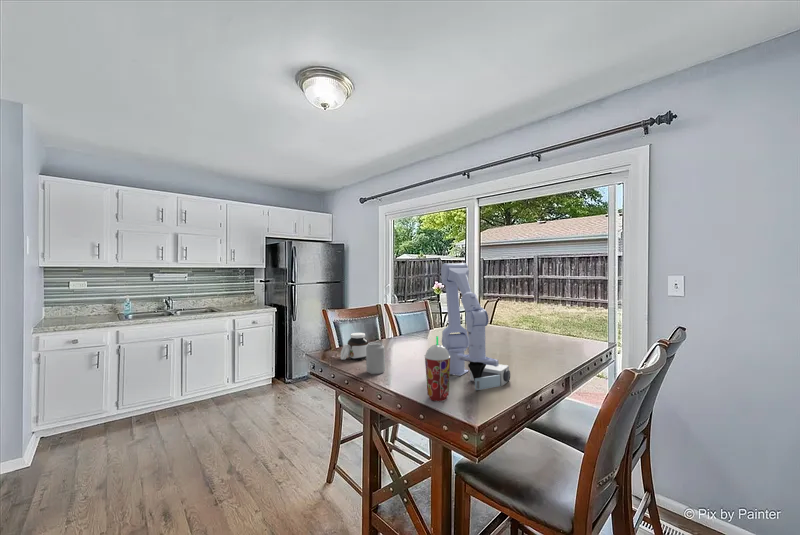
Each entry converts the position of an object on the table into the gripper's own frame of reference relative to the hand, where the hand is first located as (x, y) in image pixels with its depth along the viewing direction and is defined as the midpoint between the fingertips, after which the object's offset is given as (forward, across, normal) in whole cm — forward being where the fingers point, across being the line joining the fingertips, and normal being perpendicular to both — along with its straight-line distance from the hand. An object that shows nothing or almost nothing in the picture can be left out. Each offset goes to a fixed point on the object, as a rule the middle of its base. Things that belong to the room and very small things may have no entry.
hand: (477, 383), depth 119 cm
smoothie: (+2, -7, -15) cm, 17 cm away
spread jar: (+2, -64, +5) cm, 64 cm away
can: (+2, -42, -5) cm, 42 cm away
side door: (+1, +4, +1) cm, 4 cm away
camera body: (+2, 0, +11) cm, 11 cm away
